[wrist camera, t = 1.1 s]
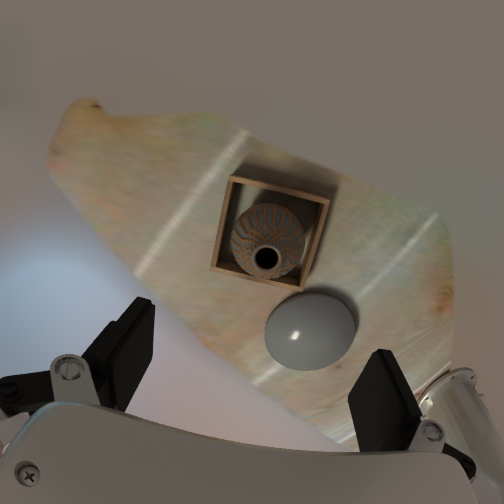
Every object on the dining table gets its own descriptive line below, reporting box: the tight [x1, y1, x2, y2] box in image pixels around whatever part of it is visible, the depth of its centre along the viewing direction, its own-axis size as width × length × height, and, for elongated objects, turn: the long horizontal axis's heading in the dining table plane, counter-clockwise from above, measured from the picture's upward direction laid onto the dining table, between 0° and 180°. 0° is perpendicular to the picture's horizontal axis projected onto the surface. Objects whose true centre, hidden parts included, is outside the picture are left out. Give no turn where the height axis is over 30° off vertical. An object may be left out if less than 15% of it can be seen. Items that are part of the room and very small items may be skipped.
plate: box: [265, 292, 355, 371], centre depth 34 cm, size 11×11×1 cm
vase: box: [231, 203, 305, 279], centre depth 27 cm, size 7×7×9 cm
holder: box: [210, 174, 330, 292], centre depth 30 cm, size 10×10×2 cm
